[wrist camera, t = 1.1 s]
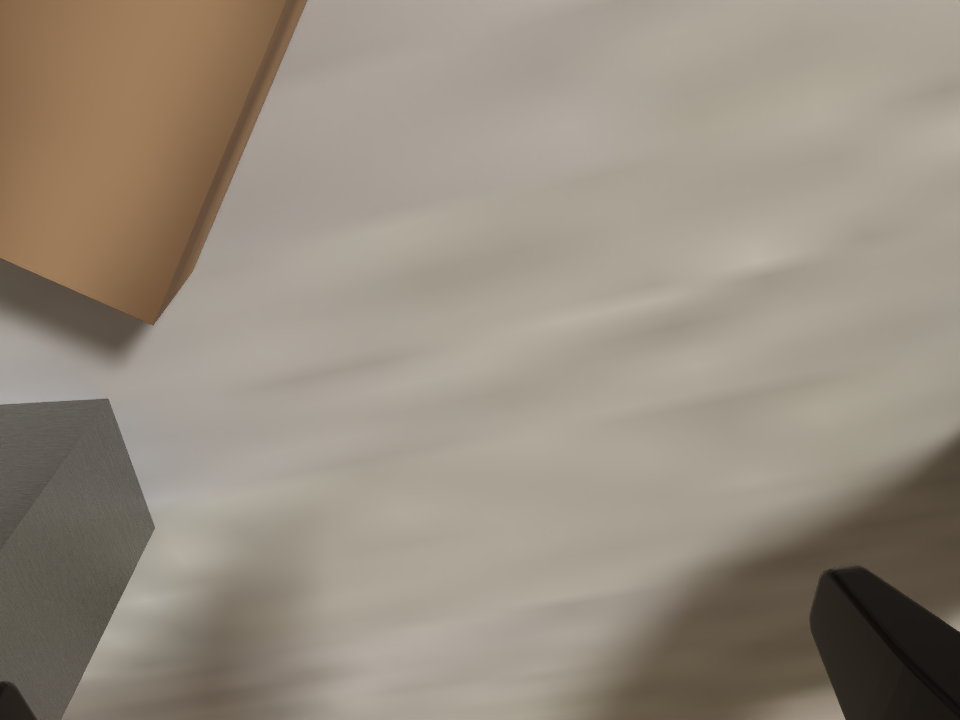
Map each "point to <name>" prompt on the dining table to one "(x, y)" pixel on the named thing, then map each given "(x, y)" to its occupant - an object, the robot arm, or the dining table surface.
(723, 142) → the dining table surface
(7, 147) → the tan wooden flat block
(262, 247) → the dining table surface
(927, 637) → the robot arm
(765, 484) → the dining table surface
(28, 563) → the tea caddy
